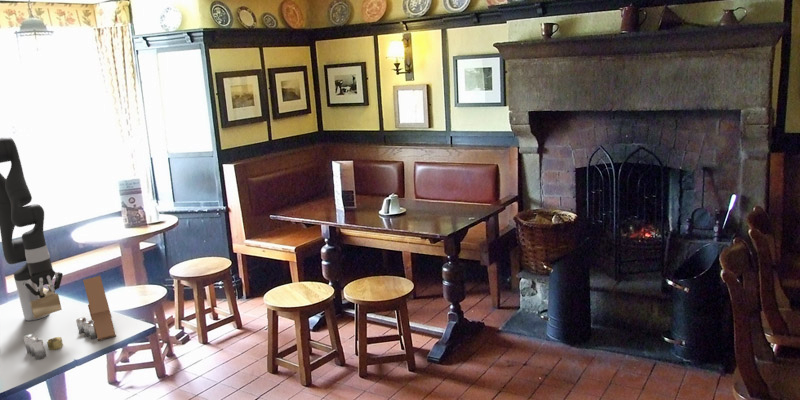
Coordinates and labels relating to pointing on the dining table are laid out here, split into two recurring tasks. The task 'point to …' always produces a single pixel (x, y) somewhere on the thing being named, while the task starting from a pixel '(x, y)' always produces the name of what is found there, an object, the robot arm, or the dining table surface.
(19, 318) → the dining table surface
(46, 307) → the wooden l-bracket
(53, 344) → the nut
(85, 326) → the spacers
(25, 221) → the robot arm
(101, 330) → the tan tall stepped post
